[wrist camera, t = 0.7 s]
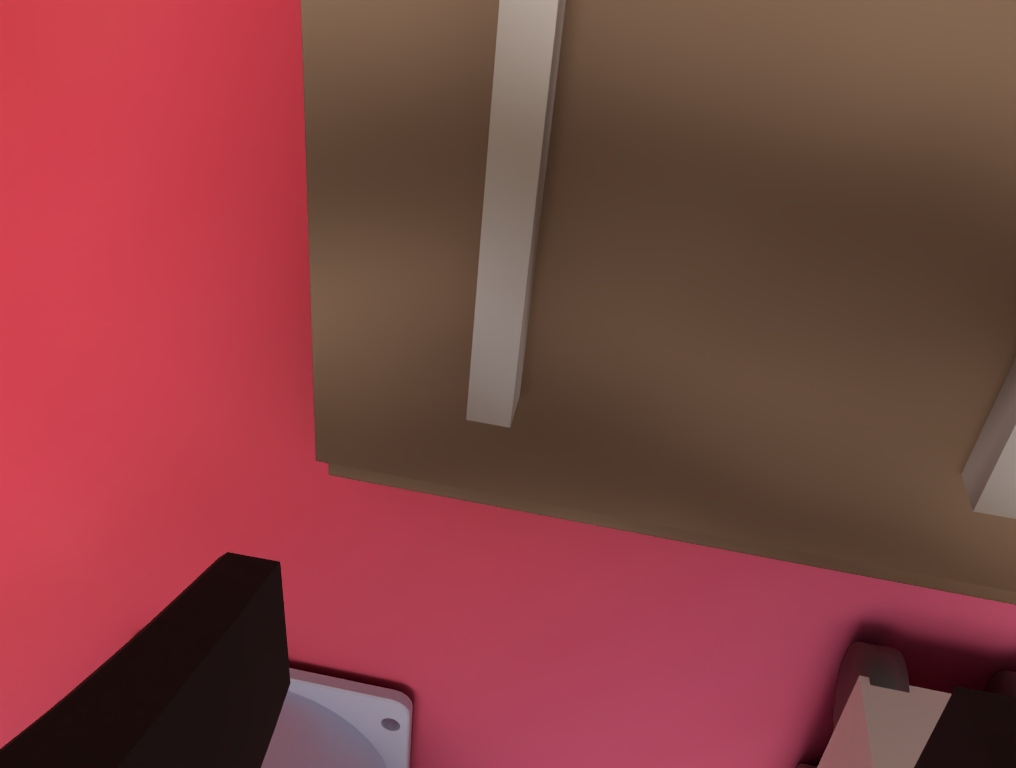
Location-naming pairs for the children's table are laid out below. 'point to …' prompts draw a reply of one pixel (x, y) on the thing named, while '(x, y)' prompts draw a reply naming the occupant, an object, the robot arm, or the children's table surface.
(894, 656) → the beige box with tabs
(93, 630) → the children's table surface
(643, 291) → the dock
